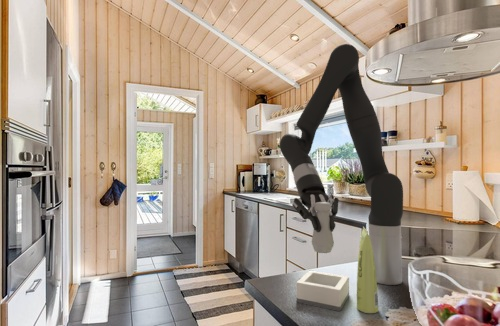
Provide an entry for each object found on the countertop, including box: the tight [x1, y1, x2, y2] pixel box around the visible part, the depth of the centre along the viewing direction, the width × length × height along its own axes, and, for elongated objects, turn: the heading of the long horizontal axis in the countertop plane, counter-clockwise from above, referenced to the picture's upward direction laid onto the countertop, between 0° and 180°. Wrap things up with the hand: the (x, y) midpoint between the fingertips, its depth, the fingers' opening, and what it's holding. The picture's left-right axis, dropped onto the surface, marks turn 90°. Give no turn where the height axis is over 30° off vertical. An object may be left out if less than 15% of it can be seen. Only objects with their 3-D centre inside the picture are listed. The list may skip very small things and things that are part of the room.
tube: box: [356, 226, 379, 314], centre depth 74 cm, size 6×5×20 cm
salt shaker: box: [311, 202, 335, 254], centre depth 81 cm, size 6×6×13 cm
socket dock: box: [295, 270, 350, 312], centre depth 80 cm, size 11×11×5 cm
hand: (325, 230), depth 79 cm, fingers closed on salt shaker, 3 cm apart
